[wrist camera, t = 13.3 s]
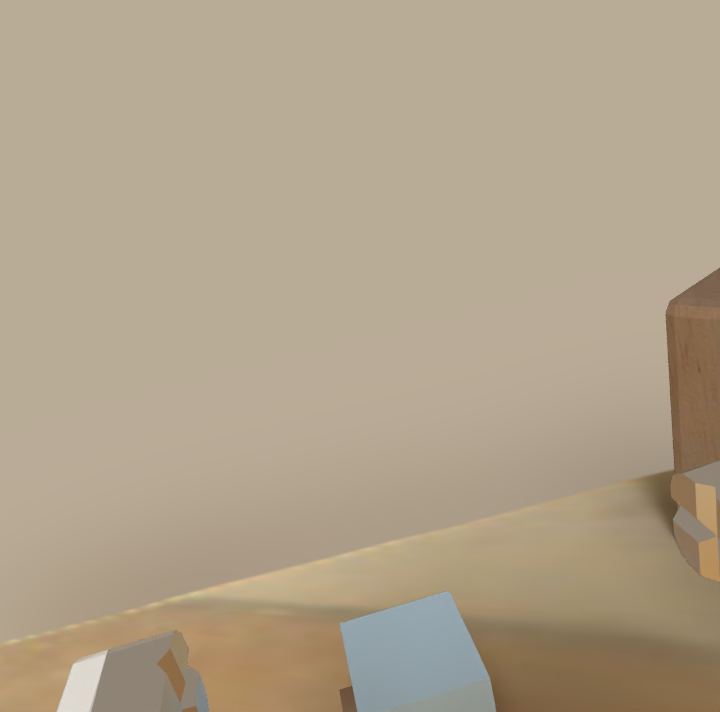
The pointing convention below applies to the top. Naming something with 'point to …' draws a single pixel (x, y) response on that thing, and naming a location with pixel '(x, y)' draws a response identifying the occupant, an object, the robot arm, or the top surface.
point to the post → (416, 660)
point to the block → (695, 373)
